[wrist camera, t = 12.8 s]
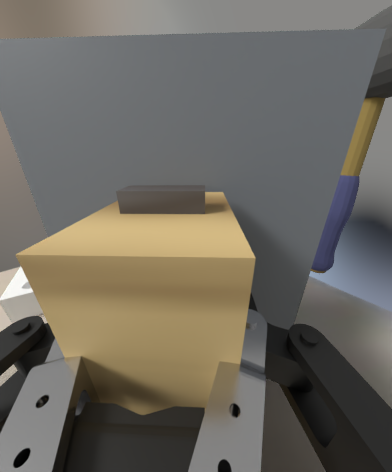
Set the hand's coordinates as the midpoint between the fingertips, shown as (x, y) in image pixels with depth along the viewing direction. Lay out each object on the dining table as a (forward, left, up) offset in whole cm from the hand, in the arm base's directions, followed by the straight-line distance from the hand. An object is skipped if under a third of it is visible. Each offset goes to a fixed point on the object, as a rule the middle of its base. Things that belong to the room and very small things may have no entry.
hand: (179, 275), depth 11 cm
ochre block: (-2, -1, -7) cm, 7 cm away
